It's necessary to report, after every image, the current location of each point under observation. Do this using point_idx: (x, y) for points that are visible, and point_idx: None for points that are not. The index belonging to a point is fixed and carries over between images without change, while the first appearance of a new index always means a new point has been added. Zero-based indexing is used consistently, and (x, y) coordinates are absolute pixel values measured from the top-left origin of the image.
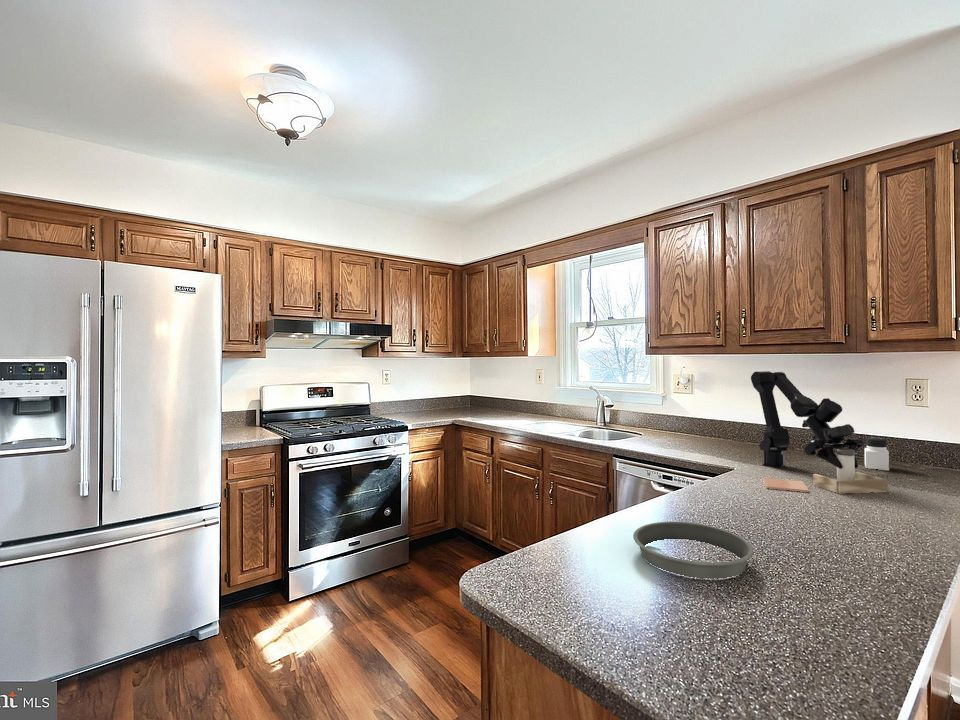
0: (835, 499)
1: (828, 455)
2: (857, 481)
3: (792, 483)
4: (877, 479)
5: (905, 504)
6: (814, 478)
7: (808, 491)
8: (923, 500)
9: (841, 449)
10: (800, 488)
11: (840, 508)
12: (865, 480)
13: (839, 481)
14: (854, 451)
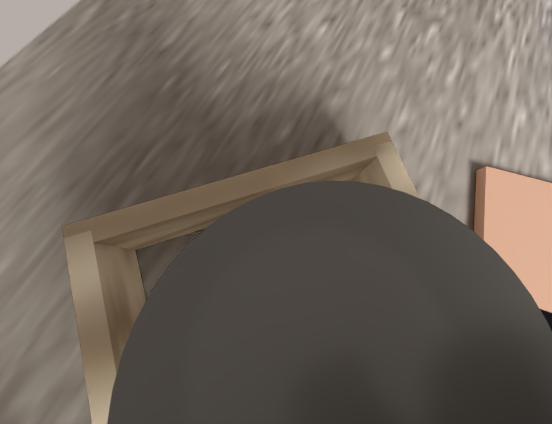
0: (403, 91)
1: None
2: (280, 164)
3: (536, 287)
4: (128, 220)
5: (180, 58)
6: None
7: (481, 169)
8: (59, 115)
9: (464, 386)
10: (514, 191)
11: (423, 2)
12: (223, 184)
13: (384, 142)
14: (189, 253)
